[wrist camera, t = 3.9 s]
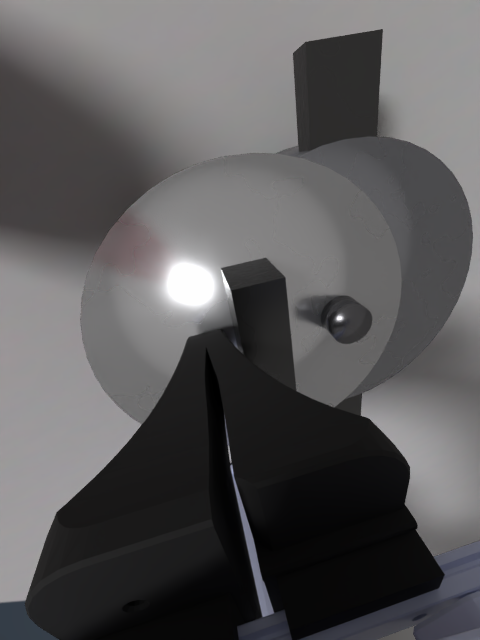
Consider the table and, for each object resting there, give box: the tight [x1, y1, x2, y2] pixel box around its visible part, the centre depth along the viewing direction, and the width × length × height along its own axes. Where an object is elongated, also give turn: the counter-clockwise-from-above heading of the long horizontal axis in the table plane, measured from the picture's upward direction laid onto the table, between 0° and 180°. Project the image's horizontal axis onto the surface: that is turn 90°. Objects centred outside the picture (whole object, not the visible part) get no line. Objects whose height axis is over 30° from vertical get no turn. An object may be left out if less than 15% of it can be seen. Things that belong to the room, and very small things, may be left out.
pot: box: [276, 29, 473, 416], centre depth 14 cm, size 17×12×4 cm
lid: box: [80, 153, 402, 445], centre depth 11 cm, size 12×12×3 cm
